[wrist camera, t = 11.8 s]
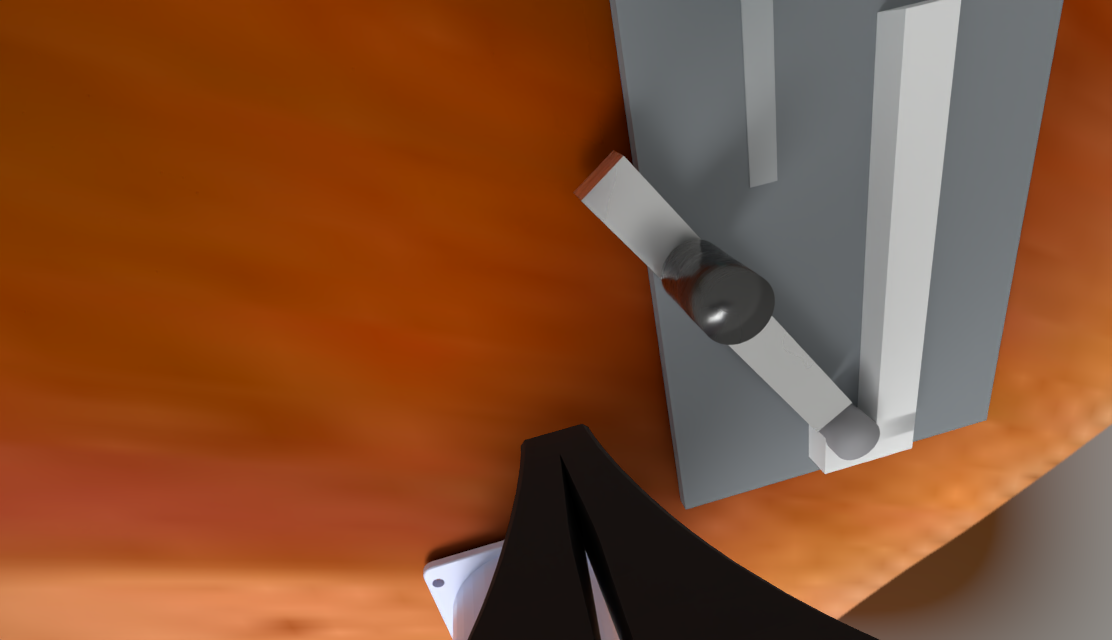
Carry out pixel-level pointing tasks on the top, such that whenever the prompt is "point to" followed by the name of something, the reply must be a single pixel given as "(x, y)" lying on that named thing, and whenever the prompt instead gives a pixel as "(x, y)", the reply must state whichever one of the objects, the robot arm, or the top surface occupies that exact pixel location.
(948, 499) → the top surface
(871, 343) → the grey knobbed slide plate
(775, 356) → the black knobbed slide plate
